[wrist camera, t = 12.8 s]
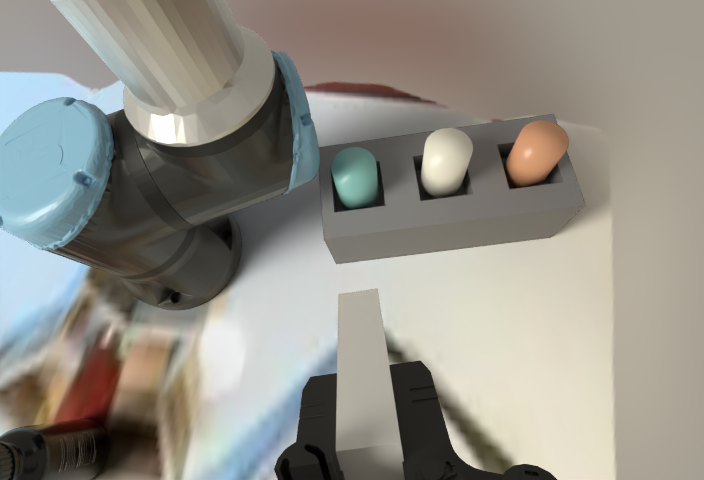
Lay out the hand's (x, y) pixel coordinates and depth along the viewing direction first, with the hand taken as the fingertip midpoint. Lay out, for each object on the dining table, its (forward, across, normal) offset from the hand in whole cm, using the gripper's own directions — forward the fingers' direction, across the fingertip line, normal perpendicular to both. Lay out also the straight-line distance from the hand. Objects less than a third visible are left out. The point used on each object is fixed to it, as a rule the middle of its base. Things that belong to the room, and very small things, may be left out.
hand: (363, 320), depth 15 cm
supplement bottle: (+18, -35, -25) cm, 47 cm away
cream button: (+28, +9, -4) cm, 29 cm away
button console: (+33, +9, -9) cm, 36 cm away
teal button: (+29, 0, -4) cm, 29 cm away
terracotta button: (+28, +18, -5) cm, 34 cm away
